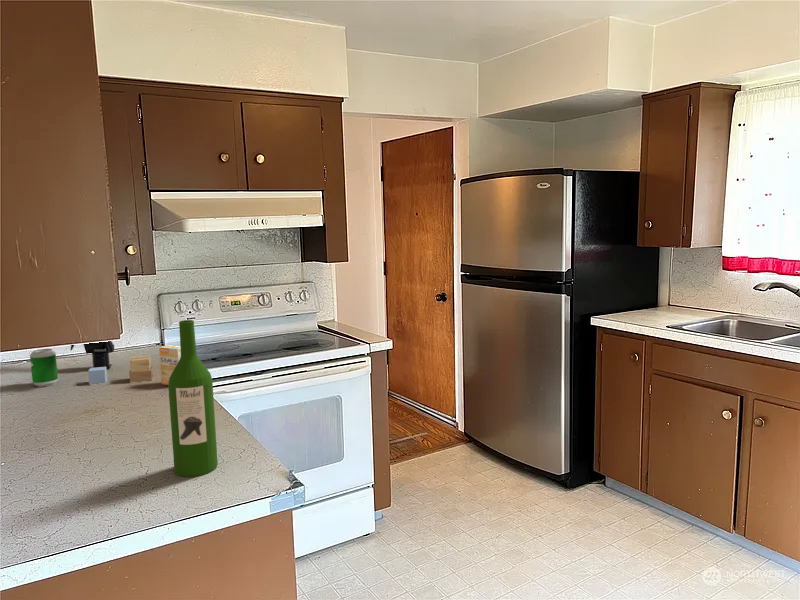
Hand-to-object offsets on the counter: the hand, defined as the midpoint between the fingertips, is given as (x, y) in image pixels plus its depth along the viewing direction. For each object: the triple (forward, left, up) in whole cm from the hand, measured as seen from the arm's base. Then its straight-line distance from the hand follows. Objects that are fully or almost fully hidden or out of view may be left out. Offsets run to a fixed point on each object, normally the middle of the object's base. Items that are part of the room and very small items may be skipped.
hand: (55, 349), depth 194 cm
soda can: (-9, -6, -14) cm, 17 cm away
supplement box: (+10, +37, -14) cm, 40 cm away
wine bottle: (+88, +42, -14) cm, 99 cm away
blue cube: (-4, +11, -14) cm, 18 cm away
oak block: (-2, +25, -10) cm, 27 cm away
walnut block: (-2, +25, -14) cm, 29 cm away
